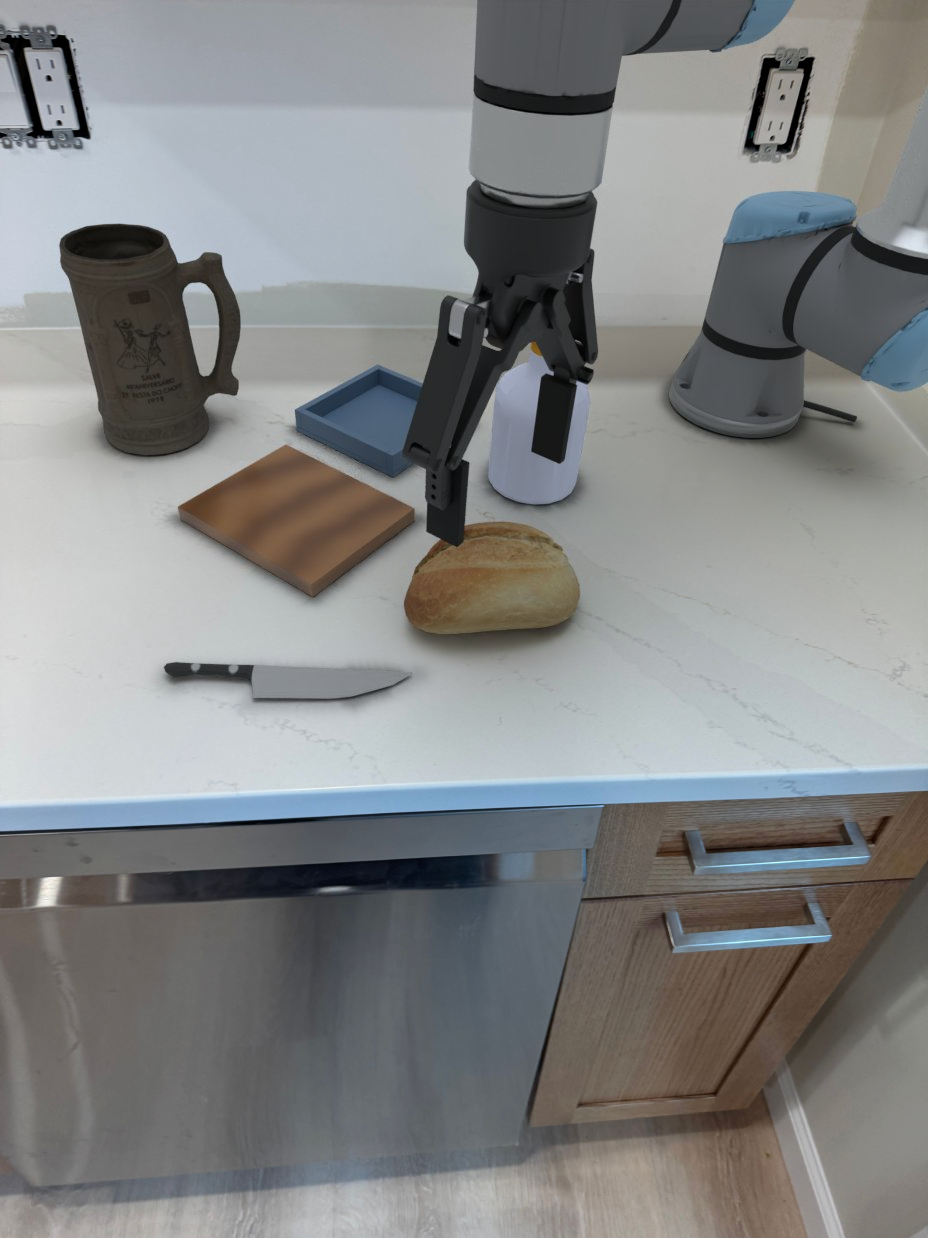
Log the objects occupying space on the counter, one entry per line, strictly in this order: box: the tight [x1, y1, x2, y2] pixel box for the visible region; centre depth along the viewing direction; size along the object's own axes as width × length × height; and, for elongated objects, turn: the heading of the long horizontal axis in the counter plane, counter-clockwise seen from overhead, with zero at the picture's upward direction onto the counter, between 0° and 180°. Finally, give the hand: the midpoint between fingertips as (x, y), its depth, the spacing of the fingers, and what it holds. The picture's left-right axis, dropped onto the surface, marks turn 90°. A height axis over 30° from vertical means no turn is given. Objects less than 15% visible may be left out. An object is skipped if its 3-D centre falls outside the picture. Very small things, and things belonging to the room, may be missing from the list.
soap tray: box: [294, 364, 423, 478], centre depth 90 cm, size 14×14×3 cm
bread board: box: [177, 444, 416, 598], centre depth 77 cm, size 17×14×2 cm
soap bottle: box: [487, 342, 591, 505], centre depth 76 cm, size 9×9×25 cm
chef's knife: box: [163, 661, 413, 700], centre depth 63 cm, size 19×1×3 cm
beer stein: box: [58, 223, 242, 456], centre depth 82 cm, size 15×11×20 cm
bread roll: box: [403, 521, 581, 635], centre depth 67 cm, size 10×15×8 cm, turn 104°
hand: (499, 494), depth 61 cm, fingers open, 13 cm apart
